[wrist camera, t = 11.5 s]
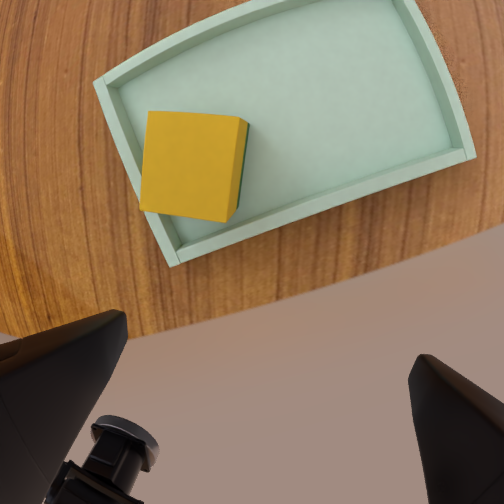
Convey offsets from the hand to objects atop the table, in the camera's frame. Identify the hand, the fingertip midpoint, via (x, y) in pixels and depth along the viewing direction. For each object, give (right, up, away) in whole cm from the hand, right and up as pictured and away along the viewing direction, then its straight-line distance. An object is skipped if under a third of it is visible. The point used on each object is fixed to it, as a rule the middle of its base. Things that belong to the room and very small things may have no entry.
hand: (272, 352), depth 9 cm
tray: (+1, +11, +8) cm, 14 cm away
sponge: (-3, +8, +9) cm, 13 cm away
